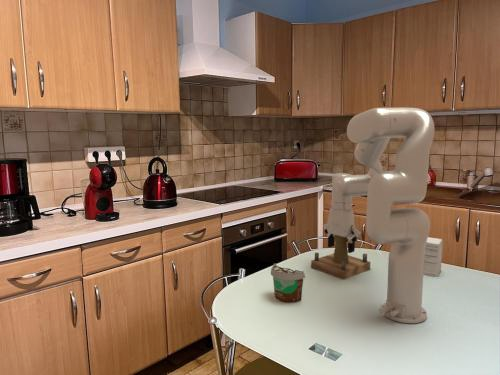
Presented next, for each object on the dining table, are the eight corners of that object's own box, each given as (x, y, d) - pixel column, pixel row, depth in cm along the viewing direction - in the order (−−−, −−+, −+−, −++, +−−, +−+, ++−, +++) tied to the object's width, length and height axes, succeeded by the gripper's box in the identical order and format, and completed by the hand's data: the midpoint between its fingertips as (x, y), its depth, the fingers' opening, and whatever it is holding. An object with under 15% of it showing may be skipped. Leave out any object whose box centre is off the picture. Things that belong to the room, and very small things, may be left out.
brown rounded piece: (337, 257, 157) (338, 230, 156) (351, 260, 153) (352, 233, 152) (329, 261, 153) (330, 234, 151) (344, 264, 149) (344, 236, 147)
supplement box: (420, 267, 154) (422, 236, 152) (441, 271, 149) (443, 239, 147) (416, 273, 148) (417, 240, 146) (437, 277, 143) (439, 243, 142)
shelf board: (343, 279, 143) (344, 263, 142) (311, 267, 155) (311, 253, 154) (370, 269, 152) (370, 254, 151) (337, 259, 165) (337, 245, 164)
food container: (262, 297, 129) (262, 267, 127) (274, 291, 133) (274, 262, 132) (293, 308, 120) (293, 276, 119) (305, 301, 125) (305, 271, 123)
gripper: (317, 203, 154) (317, 246, 157) (354, 210, 141) (353, 256, 143) (330, 201, 159) (329, 242, 162) (367, 207, 146) (365, 252, 148)
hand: (340, 249), depth 152 cm, fingers open, 9 cm apart
